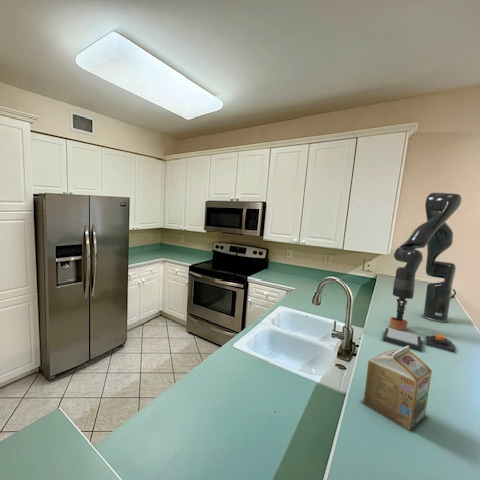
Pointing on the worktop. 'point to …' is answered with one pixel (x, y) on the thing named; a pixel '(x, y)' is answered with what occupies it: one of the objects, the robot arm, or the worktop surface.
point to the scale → (402, 339)
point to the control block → (439, 343)
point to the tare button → (440, 337)
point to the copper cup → (398, 324)
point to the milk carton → (398, 386)
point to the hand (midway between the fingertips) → (399, 318)
